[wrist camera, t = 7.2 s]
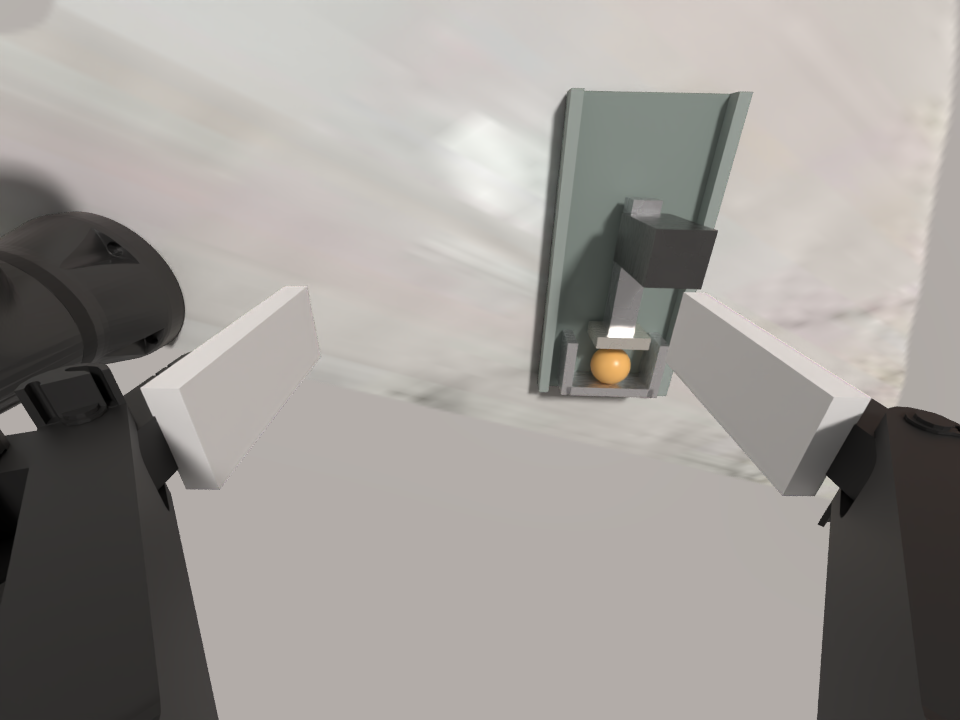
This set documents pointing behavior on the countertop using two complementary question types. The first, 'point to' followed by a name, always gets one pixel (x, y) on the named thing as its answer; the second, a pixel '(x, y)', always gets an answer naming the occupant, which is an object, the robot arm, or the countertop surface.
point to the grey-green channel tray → (629, 173)
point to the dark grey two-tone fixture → (649, 268)
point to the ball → (610, 365)
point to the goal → (631, 386)
